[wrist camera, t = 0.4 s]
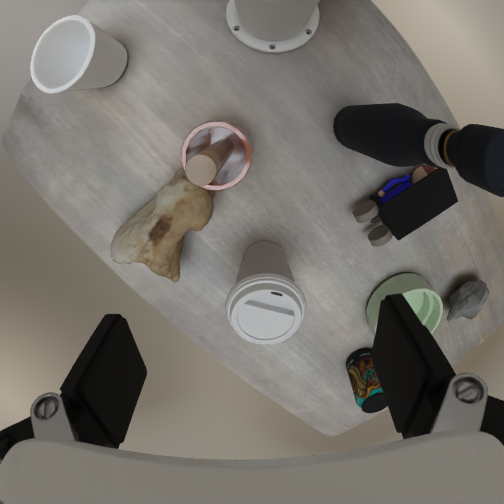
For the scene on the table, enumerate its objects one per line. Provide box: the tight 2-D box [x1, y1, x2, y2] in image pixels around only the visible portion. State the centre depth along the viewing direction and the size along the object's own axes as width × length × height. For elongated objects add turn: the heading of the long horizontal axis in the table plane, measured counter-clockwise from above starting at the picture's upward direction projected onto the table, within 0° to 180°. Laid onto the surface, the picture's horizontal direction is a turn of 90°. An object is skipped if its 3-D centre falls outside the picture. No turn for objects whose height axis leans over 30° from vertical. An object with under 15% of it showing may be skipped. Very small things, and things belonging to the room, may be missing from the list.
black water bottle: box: [333, 103, 504, 197], centre depth 25 cm, size 6×6×30 cm
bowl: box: [366, 273, 443, 336], centre depth 48 cm, size 13×13×6 cm
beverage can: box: [346, 349, 388, 413], centre depth 51 cm, size 7×7×12 cm
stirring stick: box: [185, 139, 234, 186], centre depth 32 cm, size 3×3×18 cm
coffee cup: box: [225, 241, 306, 345], centre depth 41 cm, size 10×10×15 cm
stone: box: [111, 168, 215, 282], centre depth 40 cm, size 17×12×10 cm
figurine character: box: [353, 165, 458, 247], centre depth 40 cm, size 7×8×15 cm
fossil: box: [447, 280, 489, 322], centre depth 46 cm, size 11×9×8 cm
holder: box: [181, 121, 253, 190], centre depth 36 cm, size 8×8×10 cm
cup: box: [31, 15, 127, 94], centre depth 29 cm, size 10×10×13 cm
